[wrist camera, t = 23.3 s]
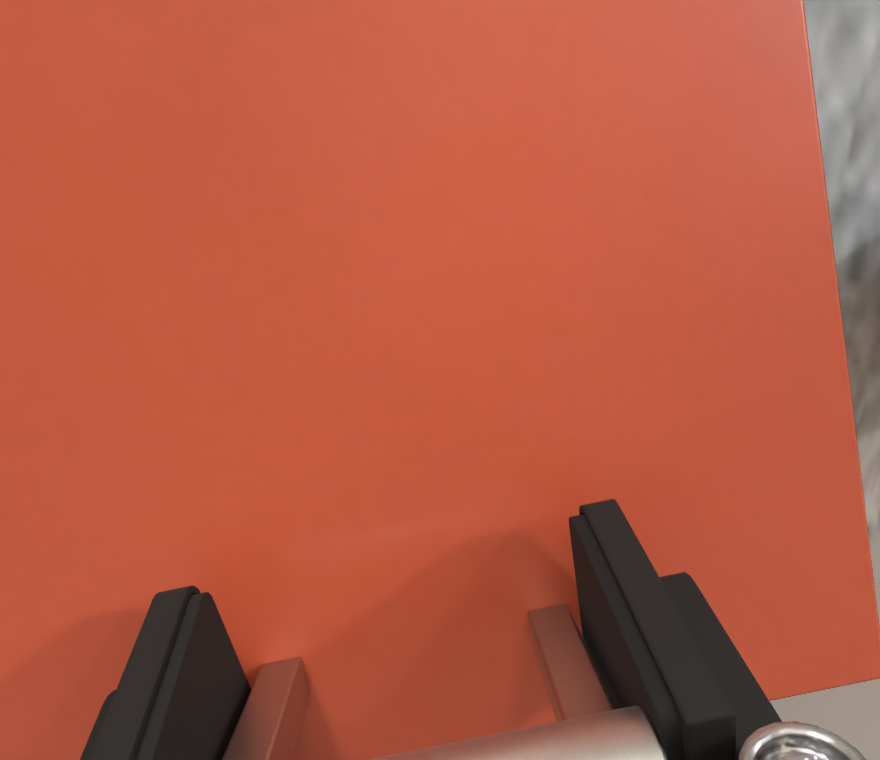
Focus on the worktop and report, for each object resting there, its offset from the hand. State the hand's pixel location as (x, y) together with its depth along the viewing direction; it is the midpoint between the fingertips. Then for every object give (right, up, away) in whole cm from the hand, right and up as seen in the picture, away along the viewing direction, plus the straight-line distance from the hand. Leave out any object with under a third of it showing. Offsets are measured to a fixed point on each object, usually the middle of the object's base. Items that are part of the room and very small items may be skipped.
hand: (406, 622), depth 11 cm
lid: (-1, +5, +1) cm, 5 cm away
